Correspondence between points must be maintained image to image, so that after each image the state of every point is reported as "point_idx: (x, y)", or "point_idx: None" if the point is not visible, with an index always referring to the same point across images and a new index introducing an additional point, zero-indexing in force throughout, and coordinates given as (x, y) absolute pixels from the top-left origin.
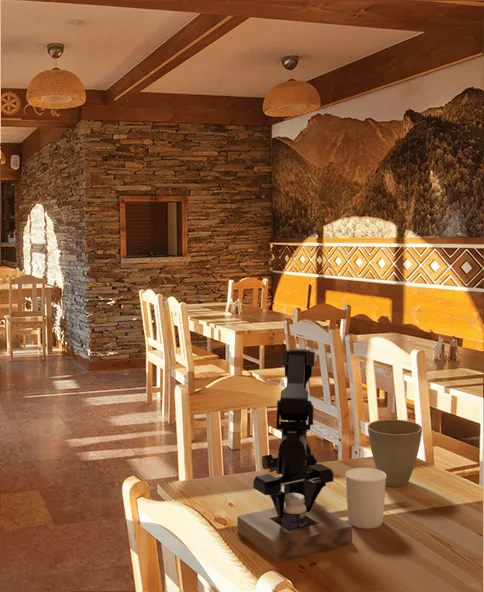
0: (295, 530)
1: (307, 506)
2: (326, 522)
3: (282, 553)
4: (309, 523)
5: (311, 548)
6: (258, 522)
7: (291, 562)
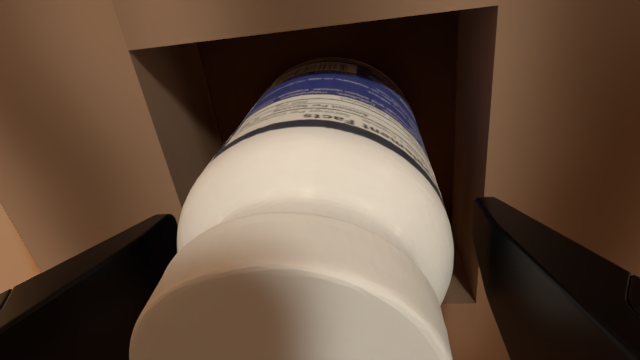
0: None
1: (487, 266)
2: None
3: None
4: (472, 164)
5: None
6: (22, 98)
7: None
